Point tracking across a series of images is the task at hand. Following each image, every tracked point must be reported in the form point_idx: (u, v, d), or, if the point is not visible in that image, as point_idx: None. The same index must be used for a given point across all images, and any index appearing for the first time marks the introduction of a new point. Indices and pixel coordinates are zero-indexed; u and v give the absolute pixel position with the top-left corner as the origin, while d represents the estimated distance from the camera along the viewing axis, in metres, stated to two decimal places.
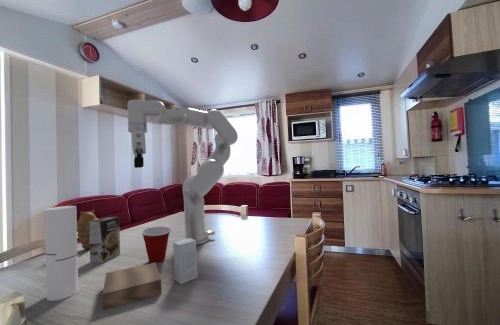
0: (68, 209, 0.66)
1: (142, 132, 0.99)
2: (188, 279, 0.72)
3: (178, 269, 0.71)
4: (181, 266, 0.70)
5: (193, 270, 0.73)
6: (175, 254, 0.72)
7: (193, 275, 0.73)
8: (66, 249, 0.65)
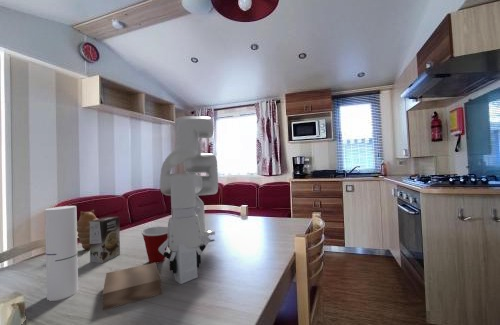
0: (68, 209, 0.66)
1: None
2: (188, 279, 0.72)
3: (178, 269, 0.71)
4: (180, 266, 0.70)
5: (193, 270, 0.73)
6: None
7: (193, 275, 0.73)
8: (66, 249, 0.65)
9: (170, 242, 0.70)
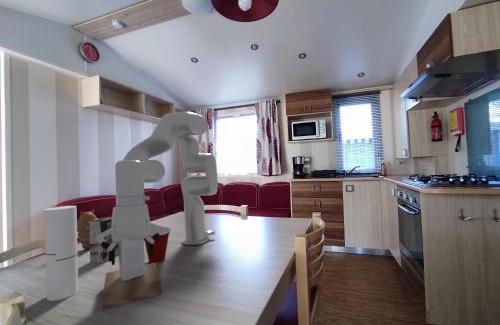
0: (68, 209, 0.66)
1: None
2: (133, 276, 0.66)
3: (121, 265, 0.65)
4: (123, 262, 0.65)
5: (139, 266, 0.68)
6: (119, 249, 0.67)
7: (139, 271, 0.67)
8: (66, 249, 0.65)
9: (112, 232, 0.64)
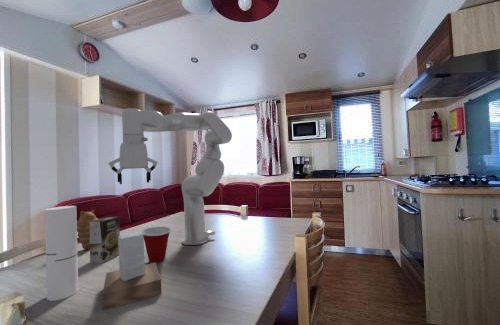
0: (68, 209, 0.66)
1: None
2: (133, 276, 0.66)
3: (121, 265, 0.65)
4: (123, 262, 0.65)
5: (139, 266, 0.68)
6: (119, 249, 0.67)
7: (139, 271, 0.67)
8: (66, 249, 0.65)
9: (120, 160, 0.88)
